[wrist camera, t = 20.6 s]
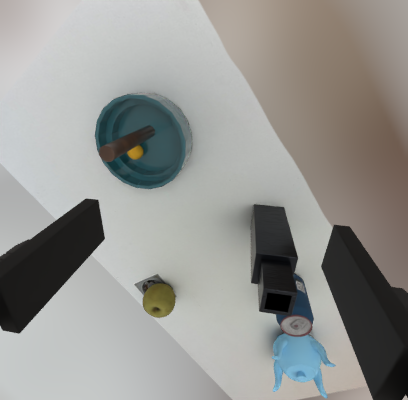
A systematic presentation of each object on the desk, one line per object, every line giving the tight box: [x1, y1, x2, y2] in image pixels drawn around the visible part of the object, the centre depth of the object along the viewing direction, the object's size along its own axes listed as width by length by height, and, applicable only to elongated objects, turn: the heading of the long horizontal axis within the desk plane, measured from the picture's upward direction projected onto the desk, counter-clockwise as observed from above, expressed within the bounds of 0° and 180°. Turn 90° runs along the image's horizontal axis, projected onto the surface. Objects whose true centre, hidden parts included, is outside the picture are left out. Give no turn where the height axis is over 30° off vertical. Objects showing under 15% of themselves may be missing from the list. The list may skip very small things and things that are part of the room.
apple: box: [143, 283, 175, 318], centre depth 62 cm, size 8×8×7 cm
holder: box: [251, 205, 298, 316], centre depth 42 cm, size 6×6×22 cm
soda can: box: [276, 274, 314, 337], centre depth 53 cm, size 7×7×12 cm
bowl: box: [95, 93, 192, 189], centre depth 46 cm, size 16×16×6 cm
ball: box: [127, 145, 143, 160], centre depth 48 cm, size 3×3×3 cm
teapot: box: [272, 333, 336, 398], centre depth 61 cm, size 13×13×10 cm
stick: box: [99, 126, 155, 162], centre depth 40 cm, size 2×2×16 cm
